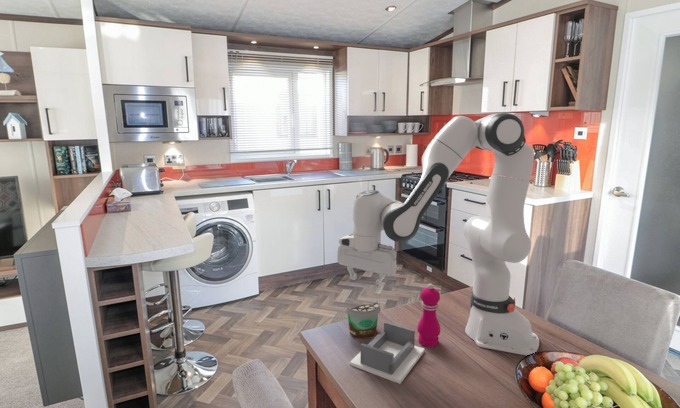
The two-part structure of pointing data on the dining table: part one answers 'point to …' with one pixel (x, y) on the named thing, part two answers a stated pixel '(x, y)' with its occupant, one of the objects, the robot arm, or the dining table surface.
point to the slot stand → (389, 353)
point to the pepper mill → (429, 317)
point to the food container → (363, 320)
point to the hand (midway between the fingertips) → (365, 282)
